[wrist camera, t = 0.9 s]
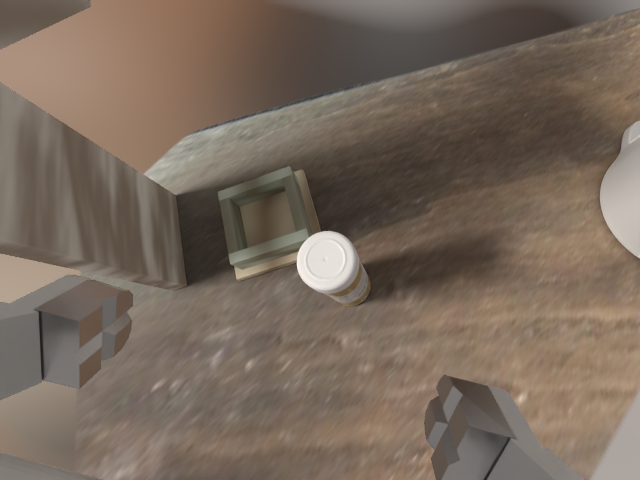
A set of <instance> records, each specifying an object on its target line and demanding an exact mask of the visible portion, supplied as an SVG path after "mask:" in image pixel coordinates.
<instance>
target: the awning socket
mask: <svg viewBox="0 0 640 480" xmlns="http://www.w3.org/2000/svg"><path fill="white" fill-rule="evenodd" d="M89 7H91V4H90V0H0V49H2V48H4V47H7V46H9V45H10V44H13V43H15V42H17V41H19V40H21V39H23V38H26V37H28V36H30V35H32V34H34V33H36V32H38V31H40V30H42V29H44V28H47V27H49V26H51V25H53V24H55V23H57V22H59V21H61V20H64V19H65V18H68V17H70V16H72V15H74V14H76V13H78V12H80V11H83V10H85V9H87V8H89ZM218 197H219V203H220V209H221V215H222V220H223V226H224V232H225V238H226V243H227V249H228V255H229V261H230V265H232V266H234V267H235V273H236V279H237V280H240V281H242V280H245V279H248V278H251V277H254V276H257V275H260V274H263V273H266V272H269V271H273V270H276V269H279V268H282V267H285V266H288V265H291V264H294V263H297V255H298V252H299V250H300V247H301V246H302V244H303V243H304V242H305V241H306V240H307V239H308V238H309V237H310V236H312V235H314V234H316V233H318V232H321V229H320V226H319V222H318V219H317V215H316V211H315V208H314V204H313V201H312V197H311V194H310V190H309V187H308V183H307V179H306V176H305V173H304V171H303V169H301V170H298V171H295V172H294V171H293V170H292V168H291V167H290V166H287V167H285V168H282V169H279V170H277V171H274V172H271V173H268V174H266V175H263V176H260V177H257V178H255V179H252V180H249V181H246V182H244V183H241V184H238V185H235V186H233V187H230V188H227V189H224V190H222V191H219V192H218ZM0 253H1V254H6V255H10V256H15V257H20V258H24V259H29V260H34V261H38V262H43V263H48V264H52V265H57V266H61V267H66V268H71V269H75V270H80V271H85V272H89V273H94V274H98V275H103V276H108V277H112V278H117V279H122V280H126V281H131V282H136V283H140V284H145V285H149V286H154V287H159V288H163V289H168V290H176V289H179V288H182V287H185V286H187V281H186V273H185V265H184V257H183V249H182V241H181V233H180V225H179V217H178V209H177V201H176V195H174V194H173V193H171V192H170V191H168V190H167V189H165V188H164V187H162V186H160V185H159V184H157V183H156V182H154V181H153V180H151V179H150V178H148V177H146V176H145V175H143V174H142V173H140V172H139V171H137V170H135V169H134V168H132V167H131V166H129V165H128V164H126V163H125V162H123V161H121V160H120V159H119V158H117V157H115V156H114V155H112V154H111V153H109V152H107V151H106V150H105V149H103V148H101V147H100V146H98V145H97V144H95V143H94V142H92V141H90V140H89V139H87V138H86V137H84V136H83V135H81V134H80V133H78V132H77V131H75V130H73V129H72V128H70V127H69V126H67V125H66V124H64V123H62V122H61V121H59V120H58V119H56V118H55V117H53V116H52V115H50V114H49V113H47V112H46V111H44V110H42V109H41V108H39V107H38V106H36V105H35V104H33V103H32V102H30V101H28V100H27V99H25V98H24V97H22V96H21V95H19V94H18V93H16V92H15V91H13V90H11V89H10V88H8V87H7V86H5V85H4V84H2V83H0Z"/></svg>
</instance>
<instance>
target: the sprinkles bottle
mask: <svg viewBox="0 0 640 480" xmlns="http://www.w3.org/2000/svg"><path fill="white" fill-rule="evenodd" d="M297 269H298V272H299V275H300V277H301V278H302V280H303V281H304V282H305V283H306V284H307V285H308V286H310V287H311V288H313V289H315V290H316V291H319V292H322V293H325V294H326V295H328V296H330V297H331V298H333V299H335V300H336V301H338V302H339V303H340V304H342V305H345V306H355V305H358V304H360V303H362V302H363V301H364V300H365V299H366V298H367V296H368V294H369V292H370V287H371V283H370V279H369V276H368V275H367V273H366V271H365V269H364V267H363V265H362V263H361V261H360V260H359V257H358V254H357V251H356V249H355V248H354V246H353V244H352V243H351V242H350V241H349V239H348V238H346V237H345V236H344V235H342V234H340V233H337V232H334V231H322V232H318V233H316V234H314V235H312V236H310V237H309V238H308V239H307V240H306V241H305V242H304V243H303V244H302V246H301V247H300V250H299V252H298V255H297Z"/></svg>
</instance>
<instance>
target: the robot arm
mask: <svg viewBox="0 0 640 480" xmlns="http://www.w3.org/2000/svg"><path fill="white" fill-rule="evenodd" d="M600 204H601V209H602V213H603V216H604V218H605V221H606V223H607V225H608V226H609V228H610V230H611V231H612V233H613V234H614V235H615V237H616V238H617V239H618V240H619V241H620V243H621V244H622V245H623V246H624V247H625V248H627V249H628V250H629V251H630V252H631V253H633V254H634V255H635V256H637V257H638V258H640V121H637V122H635V123H634V124H632V125H631V126H630V127H628V128H627V129H626V130H625V132H624V135H623V139H622V145H621V152H620V154H619V155H618V157H617V158H616V159H615V161H614V162H613V163H612V165H611V166H610V167H609V169H608V170H607V172H606V174H605V176H604V178H603V181H602V184H601V190H600ZM132 306H133V294H132V293H131V292H130V291H129V290H127V289H123V288H120V287H116V286H113V285H109V284H106V283H102V282H99V281H96V280H91V279H89V278H85V277H81V276H77V275H66V276H64V277H62V278H60V279H58V280H56V281H54V282H52V283H50V284H48V285H46V286H44V287H42V288H40V289H38V290H36V291H34V292H32V293H30V294H28V295H26V296H24V297H22V298H20V299H18V300H16V301H14V302H12V303H10V304H9V303H5V302H0V400H2V399H4V398H7V397H9V396H11V395H14V394H16V393H18V392H21V391H23V390H25V389H28V388H30V387H32V386H34V385H37V384H39V383H41V382H42V380H43V381H47V382H52V383H56V384H60V385H64V386H68V387H72V388H77V389H80V388H81V387H82V386H83V385H84V384H85V383H86V382H87V381H89V380H90V379H91V378H92V377H93V376H94V375H95V374H96V373H97V372H98V371H99V370H100V369H101V361H103V360H106V359H109V358H112V357H114V356H115V355H116V354H117V353H118V352H119V351H120V350H121V349H122V348H123V346H124V345H125V343H126V341H127V340H128V338H129V334H130V331H131V325H132V320H131V318H130V317H129V315H128V313H127V311H128V310H129V309H130V308H131V307H132ZM437 391H438V394H439V396H437V397H436V398H434V399H432V400H431V401H430V402H429V405H428V407H427V410H426V415H425V422H424V425H425V435H426V439H427V442H428V443H429V444H430V446H431V447H432V448H433V449H434V450H435V451H434V453H433V455H432V457H431V461H432V465H433V469H434V473H435V477H436V480H584V479H583V478H582V477H581V476H580V475H578V474H577V473H576V472H575V471H574V470H573V469H571V468H570V467H569V466H568V465H567V464H566V463H565V462H563V461H562V460H561V459H560V458H559V457H558V456H556V455H555V454H554V453H553V452H552V451H551V450H549V449H548V448H545V447H541V445H540V444H539V442H538V440H537V439H536V437H535V435H534V434H533V432H532V430H531V429H530V427H529V425H528V424H527V422H526V420H525V419H524V417H523V415H522V414H521V412H520V410H519V409H518V407H517V405H516V404H515V402H514V400H513V399H512V397H511V395H510V394H509V393H508V392H507V391H506V390H505V389H502V388H498V387H493V386H489V385H485V384H484V385H483V384H479V383H475V382H471V381H467V380H463V379H459V378H455V377H451V376H447V375H444V376H443V377H442V378H441V379H440V380H439V382H438V385H437ZM0 480H101V479H98V478H94V477H91V476H87V475H83V474H80V473H76V472H72V471H69V470H65V469H62V468H58V467H54V466H51V465H47V464H43V463H40V462H36V461H32V460H29V459H25V458H22V457H18V456H14V455H11V454H7V453H4V452H0Z"/></svg>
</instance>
